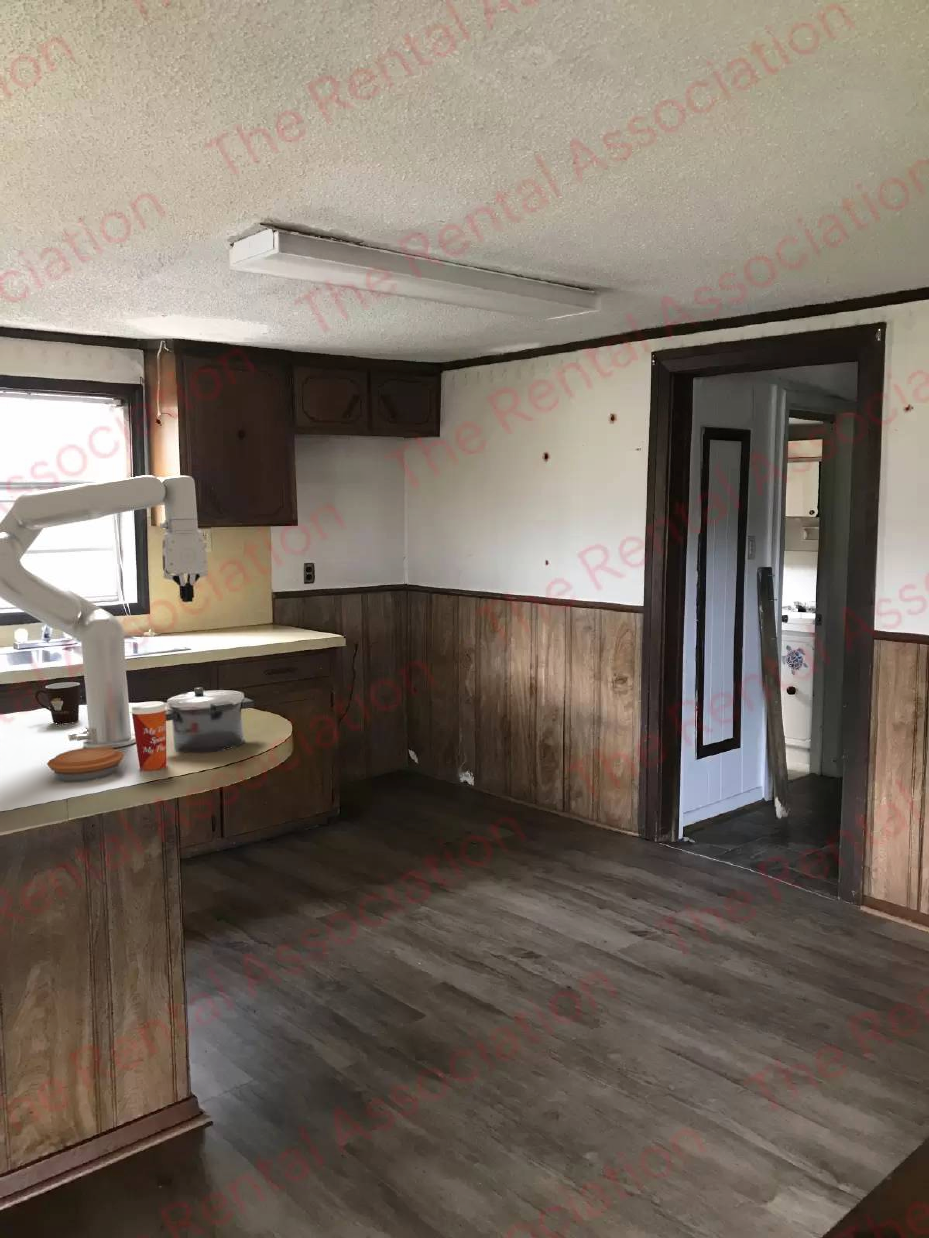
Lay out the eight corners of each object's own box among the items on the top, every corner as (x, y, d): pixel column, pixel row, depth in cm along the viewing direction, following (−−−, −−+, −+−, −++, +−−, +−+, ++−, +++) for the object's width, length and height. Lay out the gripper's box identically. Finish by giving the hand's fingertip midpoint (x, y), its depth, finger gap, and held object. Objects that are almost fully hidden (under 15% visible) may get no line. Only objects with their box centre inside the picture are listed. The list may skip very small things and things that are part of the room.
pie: (134, 775, 215) (133, 752, 215) (59, 789, 206) (56, 765, 206) (113, 761, 228) (111, 740, 227) (40, 774, 219) (38, 752, 218)
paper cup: (151, 773, 216) (146, 709, 214) (127, 769, 220) (122, 706, 218) (179, 764, 222) (174, 702, 221) (155, 760, 226) (150, 699, 225)
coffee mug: (89, 719, 274) (86, 683, 273) (62, 726, 267) (58, 689, 266) (62, 716, 281) (59, 680, 280) (35, 722, 273) (31, 686, 272)
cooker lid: (187, 716, 224) (185, 703, 224) (156, 703, 242) (156, 690, 242) (261, 704, 234) (260, 692, 234) (227, 692, 252) (226, 680, 251)
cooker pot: (175, 758, 228) (171, 713, 227) (149, 743, 243) (146, 701, 242) (265, 742, 240) (262, 699, 239) (235, 729, 255) (232, 688, 254)
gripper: (156, 528, 240) (162, 605, 242) (216, 525, 248) (222, 599, 250) (146, 528, 246) (152, 603, 248) (206, 525, 254) (211, 598, 256)
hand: (187, 601), depth 249 cm, fingers closed
